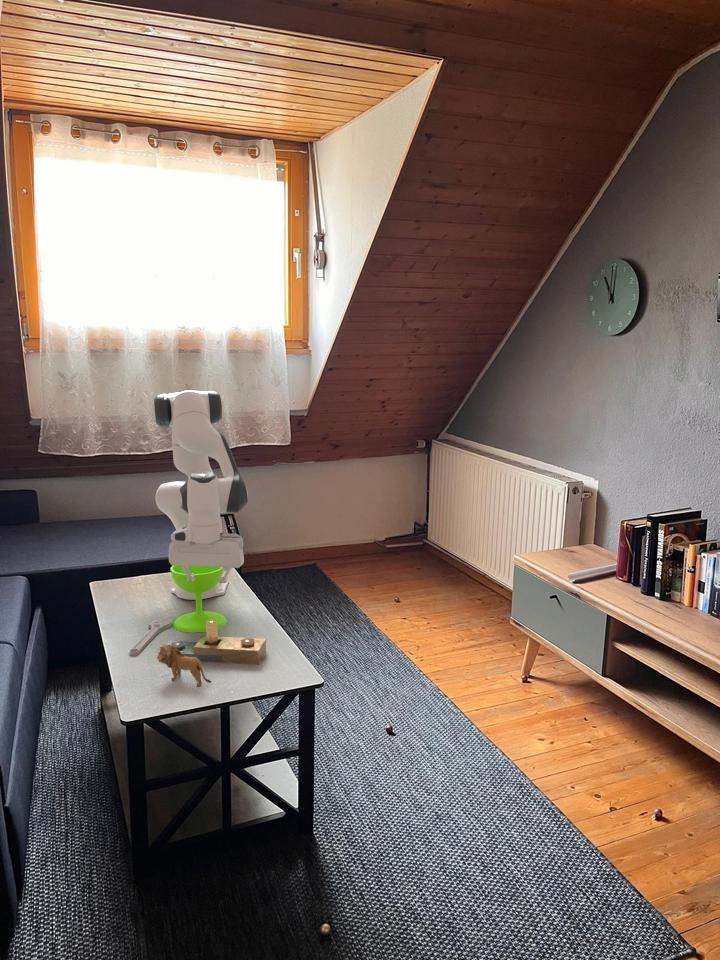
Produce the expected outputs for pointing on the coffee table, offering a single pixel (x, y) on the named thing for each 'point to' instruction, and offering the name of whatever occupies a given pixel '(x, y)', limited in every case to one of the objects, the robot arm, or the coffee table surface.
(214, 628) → the brass pin
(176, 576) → the wineglass
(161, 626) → the adjustable wrench
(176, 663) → the lion figurine
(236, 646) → the door latch
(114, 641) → the coffee table surface
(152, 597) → the coffee table surface
